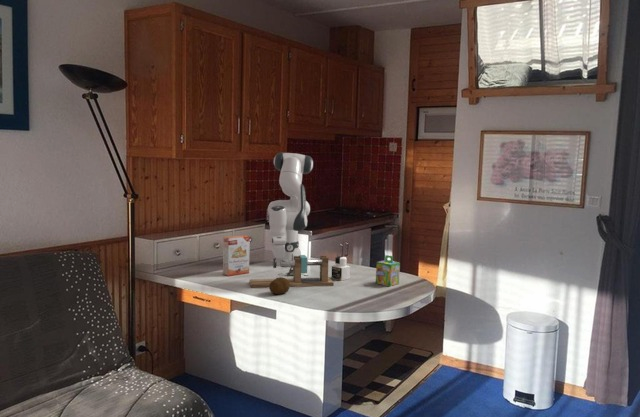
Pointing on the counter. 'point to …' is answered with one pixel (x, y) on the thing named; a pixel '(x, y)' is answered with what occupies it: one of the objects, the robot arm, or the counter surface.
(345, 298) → the counter surface
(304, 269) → the teal holed block
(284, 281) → the potato
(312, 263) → the shaft
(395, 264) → the chalk box
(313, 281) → the shaft stand
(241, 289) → the counter surface
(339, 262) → the medicine bottle
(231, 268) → the cracker box
